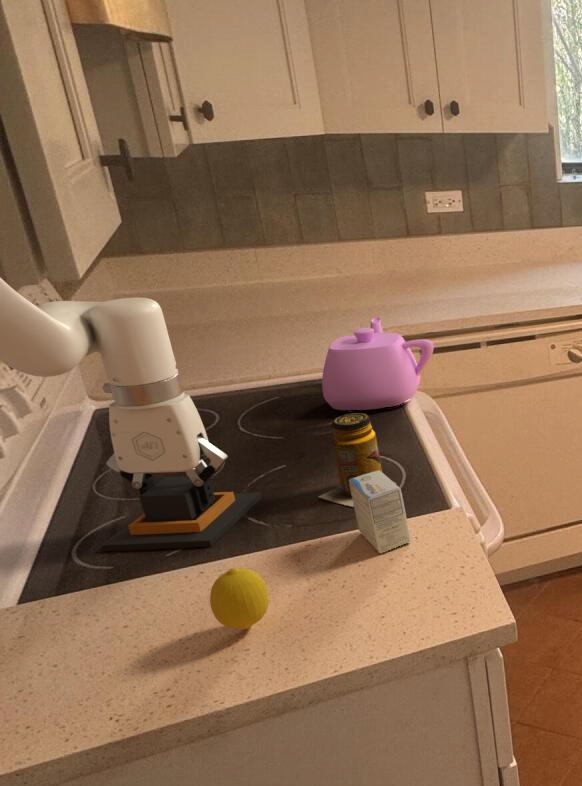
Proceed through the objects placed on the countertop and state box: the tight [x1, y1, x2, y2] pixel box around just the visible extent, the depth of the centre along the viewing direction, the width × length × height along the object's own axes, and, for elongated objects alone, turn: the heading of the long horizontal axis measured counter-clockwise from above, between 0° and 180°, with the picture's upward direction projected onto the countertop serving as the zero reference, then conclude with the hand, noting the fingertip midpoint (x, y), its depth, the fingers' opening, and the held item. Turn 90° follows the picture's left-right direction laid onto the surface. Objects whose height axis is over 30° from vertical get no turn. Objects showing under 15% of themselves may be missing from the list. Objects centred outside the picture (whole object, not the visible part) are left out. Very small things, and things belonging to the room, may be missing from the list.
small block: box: [139, 476, 215, 522], centre depth 111 cm, size 6×6×4 cm
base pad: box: [100, 491, 262, 552], centre depth 112 cm, size 14×14×2 cm
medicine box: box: [349, 471, 412, 554], centre depth 107 cm, size 8×4×9 cm, turn 43°
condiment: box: [317, 412, 397, 508], centre depth 120 cm, size 7×8×12 cm
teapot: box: [321, 316, 435, 411], centre depth 159 cm, size 23×21×15 cm
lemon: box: [209, 567, 270, 630], centre depth 89 cm, size 6×6×8 cm
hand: (181, 507), depth 112 cm, fingers closed on small block, 6 cm apart
